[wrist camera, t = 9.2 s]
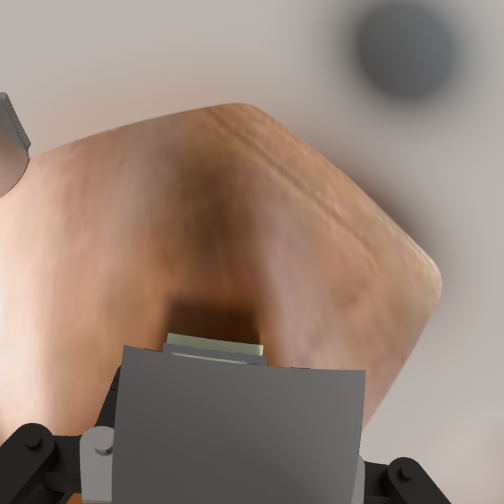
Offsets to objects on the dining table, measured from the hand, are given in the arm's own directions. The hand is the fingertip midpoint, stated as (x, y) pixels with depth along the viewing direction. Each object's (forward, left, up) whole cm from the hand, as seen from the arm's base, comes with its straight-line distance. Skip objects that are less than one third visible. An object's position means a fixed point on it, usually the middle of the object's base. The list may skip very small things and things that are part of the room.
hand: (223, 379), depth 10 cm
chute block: (+2, 0, -4) cm, 5 cm away
